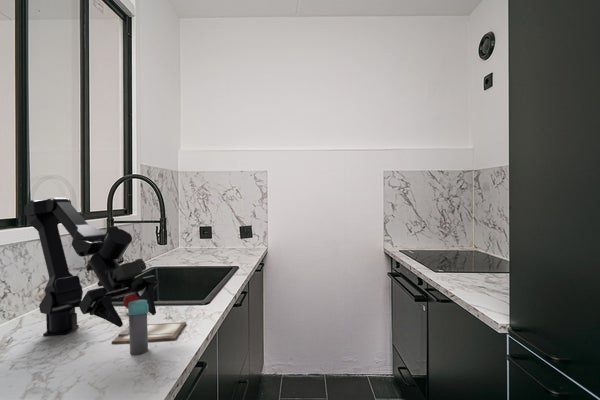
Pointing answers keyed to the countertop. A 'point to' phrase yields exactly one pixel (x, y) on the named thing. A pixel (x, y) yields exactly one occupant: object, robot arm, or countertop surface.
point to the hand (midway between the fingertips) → (138, 319)
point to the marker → (138, 326)
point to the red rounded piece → (129, 299)
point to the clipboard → (154, 332)
